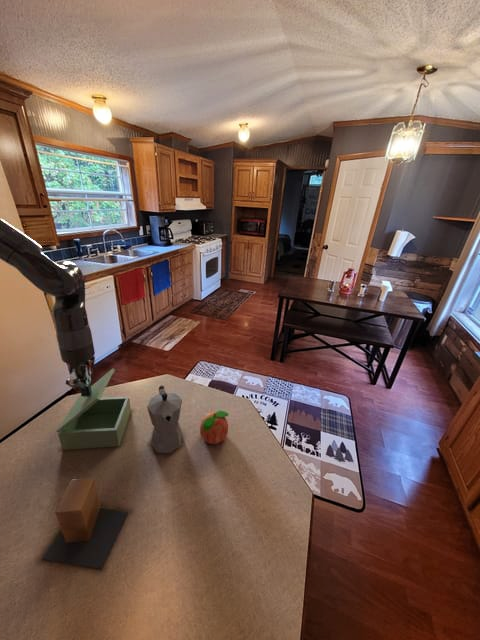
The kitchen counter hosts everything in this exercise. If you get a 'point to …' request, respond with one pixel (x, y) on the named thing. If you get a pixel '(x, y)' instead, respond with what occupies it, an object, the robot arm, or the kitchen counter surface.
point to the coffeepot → (165, 421)
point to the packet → (78, 510)
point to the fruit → (214, 427)
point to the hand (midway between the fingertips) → (86, 394)
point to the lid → (86, 400)
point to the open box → (98, 425)
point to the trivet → (89, 542)
